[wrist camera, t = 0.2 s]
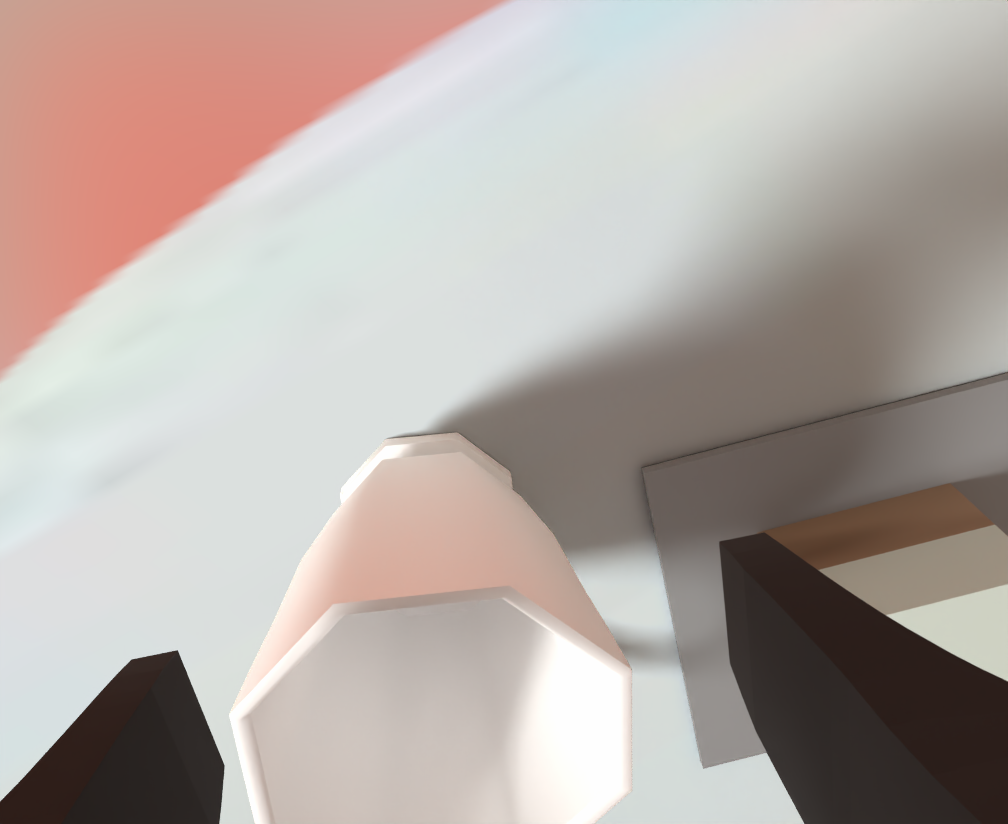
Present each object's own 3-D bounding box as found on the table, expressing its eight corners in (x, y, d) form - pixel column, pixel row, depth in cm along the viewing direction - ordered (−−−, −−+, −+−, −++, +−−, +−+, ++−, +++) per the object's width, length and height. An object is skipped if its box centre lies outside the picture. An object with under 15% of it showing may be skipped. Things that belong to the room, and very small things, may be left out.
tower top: (997, 685, 24) (1045, 743, 22) (806, 734, 24) (839, 795, 22) (995, 524, 22) (1048, 573, 20) (786, 578, 22) (820, 632, 20)
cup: (495, 325, 21) (542, 509, 14) (658, 638, 25) (761, 905, 18) (224, 459, 22) (133, 700, 14) (426, 741, 26) (434, 1038, 19)
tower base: (955, 636, 26) (997, 685, 24) (778, 681, 26) (806, 734, 24) (950, 483, 24) (995, 524, 22) (757, 532, 24) (786, 578, 22)
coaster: (1037, 674, 27) (1043, 682, 27) (700, 760, 27) (703, 768, 27) (1040, 364, 23) (1047, 369, 23) (641, 468, 23) (644, 474, 23)
